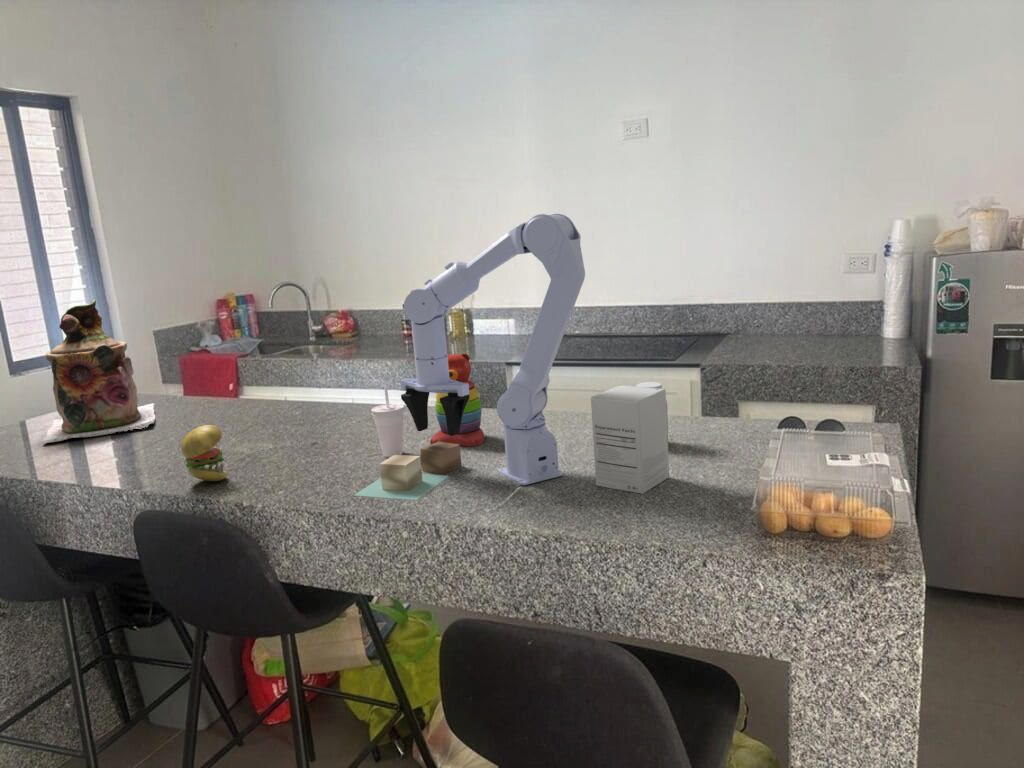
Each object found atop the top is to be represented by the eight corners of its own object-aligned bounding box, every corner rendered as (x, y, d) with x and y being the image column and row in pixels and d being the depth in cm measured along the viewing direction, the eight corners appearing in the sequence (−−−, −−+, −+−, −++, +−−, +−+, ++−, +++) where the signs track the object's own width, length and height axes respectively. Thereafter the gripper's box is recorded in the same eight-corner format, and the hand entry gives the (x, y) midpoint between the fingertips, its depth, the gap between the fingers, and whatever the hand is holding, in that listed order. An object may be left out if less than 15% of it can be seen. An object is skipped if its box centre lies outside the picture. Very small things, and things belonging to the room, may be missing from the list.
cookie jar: (53, 426, 197) (28, 304, 190) (156, 410, 207) (136, 294, 200) (40, 447, 175) (11, 310, 168) (156, 429, 185) (133, 299, 178)
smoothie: (378, 462, 143) (369, 390, 140) (375, 453, 149) (367, 384, 146) (411, 457, 144) (404, 386, 142) (407, 449, 150) (399, 380, 148)
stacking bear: (427, 447, 151) (418, 359, 147) (443, 433, 160) (435, 350, 157) (479, 447, 148) (471, 358, 145) (492, 432, 158) (485, 349, 154)
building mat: (450, 477, 131) (449, 475, 131) (416, 501, 120) (416, 500, 120) (390, 473, 136) (390, 472, 135) (353, 497, 125) (353, 495, 125)
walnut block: (461, 468, 136) (459, 444, 135) (443, 476, 132) (441, 452, 131) (441, 464, 139) (438, 441, 138) (422, 472, 135) (420, 449, 134)
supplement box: (623, 469, 128) (619, 384, 125) (670, 477, 123) (667, 388, 119) (593, 486, 121) (588, 395, 118) (642, 495, 116) (638, 400, 113)
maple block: (422, 481, 129) (420, 456, 128) (408, 491, 125) (405, 465, 124) (397, 479, 131) (394, 454, 130) (382, 489, 126) (379, 463, 126)
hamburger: (236, 480, 138) (226, 417, 136) (197, 492, 133) (186, 426, 131) (219, 473, 144) (209, 412, 141) (181, 483, 139) (170, 421, 137)
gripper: (385, 359, 132) (393, 433, 135) (447, 363, 124) (454, 442, 127) (413, 352, 138) (420, 423, 141) (474, 355, 129) (480, 431, 132)
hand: (438, 432), depth 134 cm, fingers open, 7 cm apart
